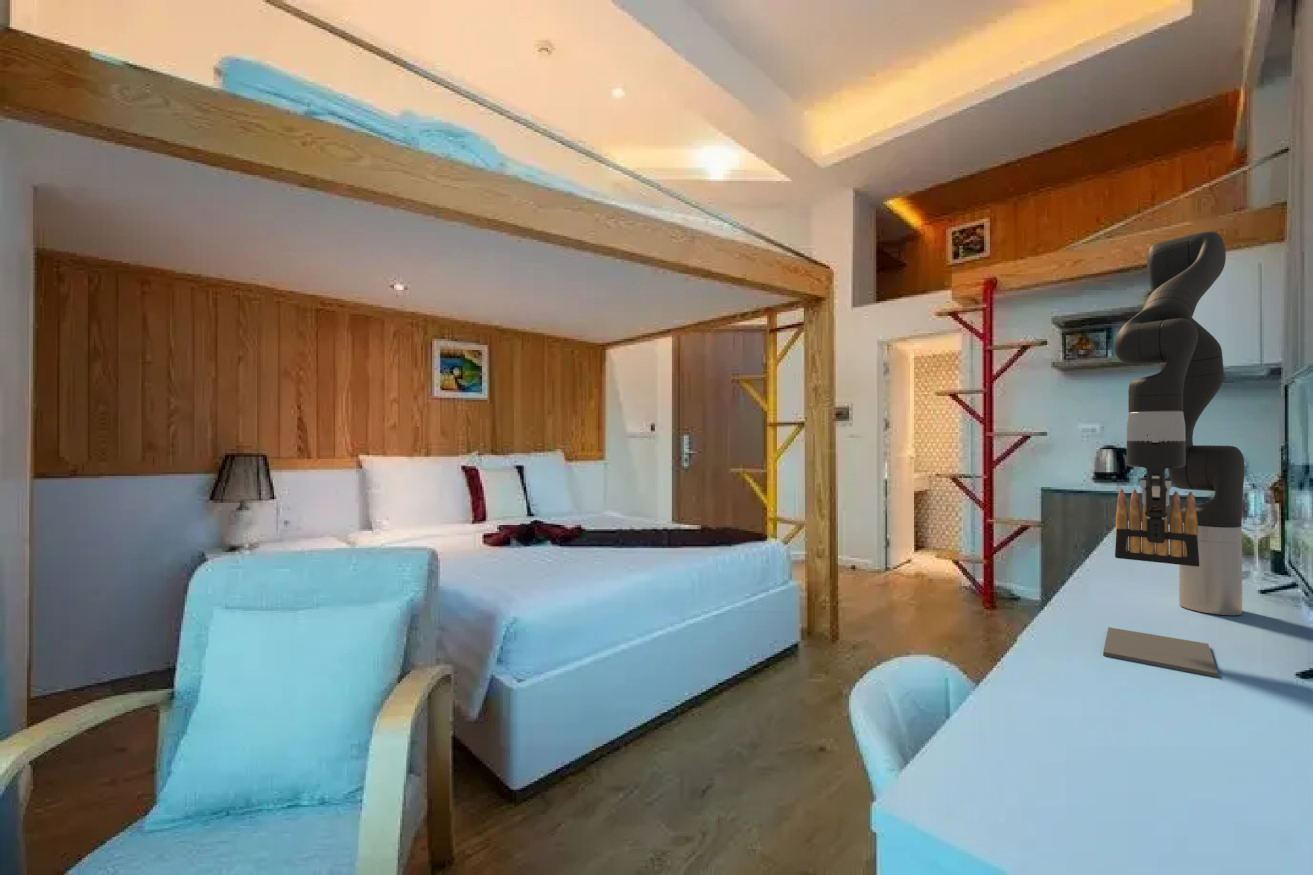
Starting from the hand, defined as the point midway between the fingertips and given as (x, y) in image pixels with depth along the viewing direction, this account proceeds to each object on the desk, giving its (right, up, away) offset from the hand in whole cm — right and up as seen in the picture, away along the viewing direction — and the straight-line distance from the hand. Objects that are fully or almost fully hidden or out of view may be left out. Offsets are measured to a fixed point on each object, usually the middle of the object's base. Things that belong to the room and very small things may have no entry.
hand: (1155, 541), depth 97 cm
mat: (-3, -17, -4) cm, 18 cm away
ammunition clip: (0, -4, 0) cm, 4 cm away
